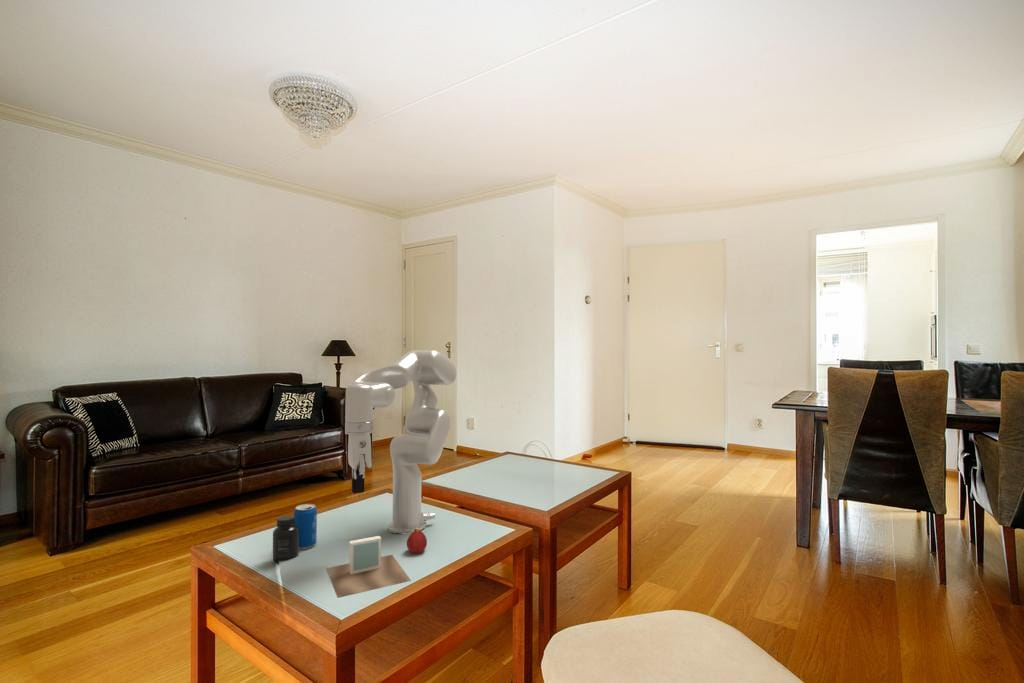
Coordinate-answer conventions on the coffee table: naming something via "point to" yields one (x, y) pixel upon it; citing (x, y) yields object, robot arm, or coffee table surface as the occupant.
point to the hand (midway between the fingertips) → (357, 492)
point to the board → (366, 577)
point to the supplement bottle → (285, 539)
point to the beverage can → (306, 525)
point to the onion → (416, 541)
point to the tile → (364, 554)
